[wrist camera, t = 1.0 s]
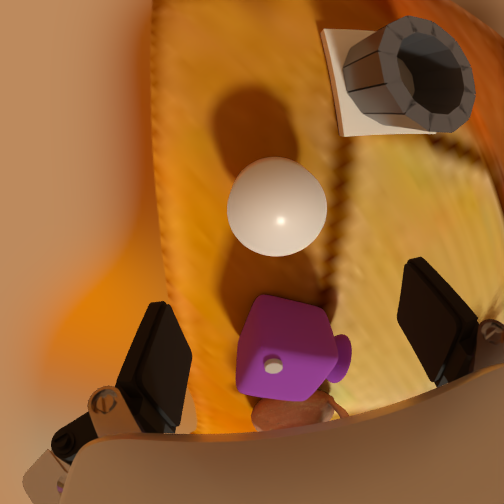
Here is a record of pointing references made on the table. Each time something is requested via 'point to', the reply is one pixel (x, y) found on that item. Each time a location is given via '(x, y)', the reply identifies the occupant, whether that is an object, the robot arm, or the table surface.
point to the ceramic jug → (295, 412)
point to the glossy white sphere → (276, 207)
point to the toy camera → (288, 350)
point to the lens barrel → (398, 79)
